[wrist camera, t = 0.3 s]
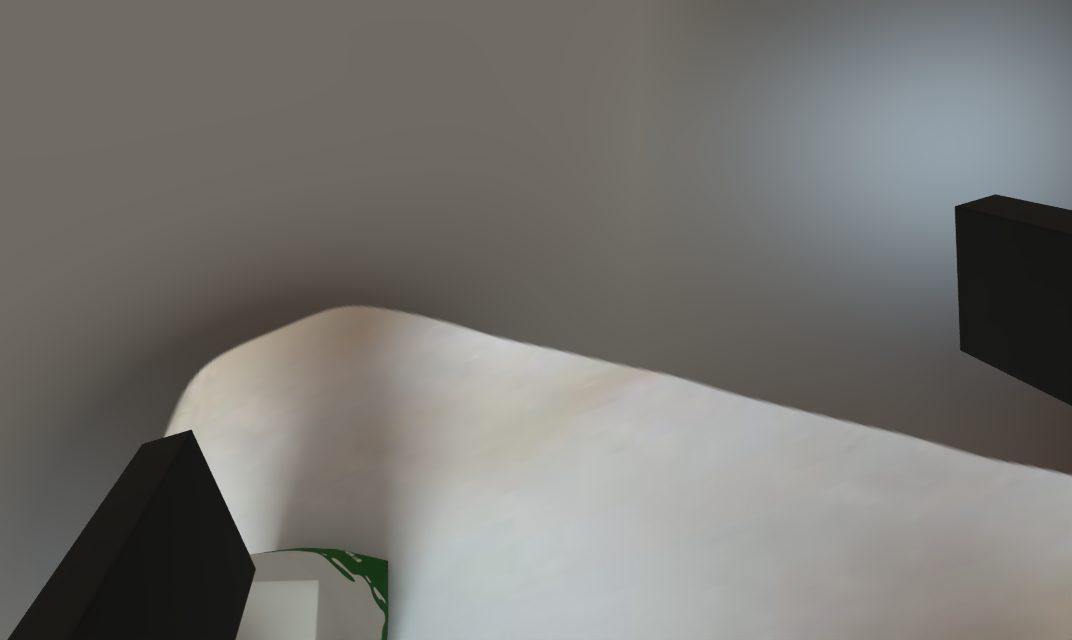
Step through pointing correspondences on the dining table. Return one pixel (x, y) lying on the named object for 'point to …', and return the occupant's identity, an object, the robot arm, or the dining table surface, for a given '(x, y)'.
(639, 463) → the dining table surface
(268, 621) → the milk carton
